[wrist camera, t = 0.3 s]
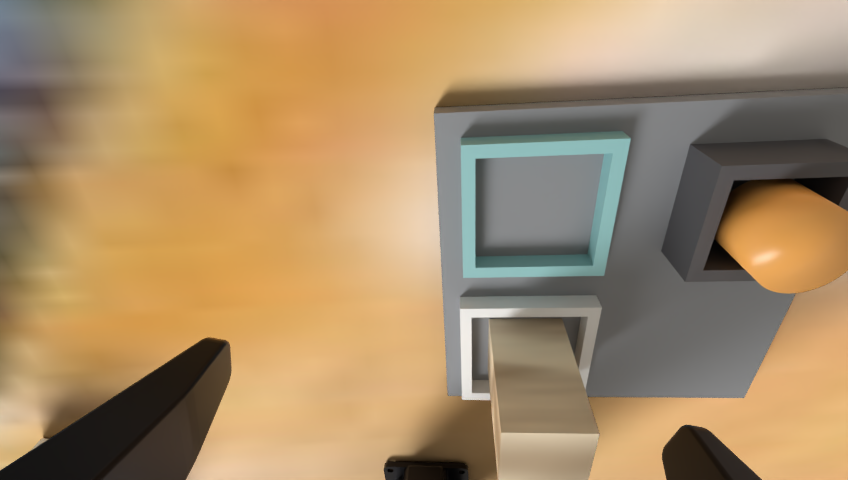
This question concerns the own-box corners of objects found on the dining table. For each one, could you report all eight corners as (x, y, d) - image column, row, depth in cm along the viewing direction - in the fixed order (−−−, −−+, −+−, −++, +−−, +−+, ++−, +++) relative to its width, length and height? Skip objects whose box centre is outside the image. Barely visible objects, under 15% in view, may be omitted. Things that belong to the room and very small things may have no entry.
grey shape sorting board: (734, 384, 27) (770, 435, 24) (447, 383, 28) (447, 431, 25) (874, 86, 17) (962, 107, 14) (434, 107, 19) (431, 131, 16)
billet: (554, 368, 25) (586, 487, 19) (487, 368, 26) (498, 485, 20) (562, 318, 23) (599, 434, 17) (488, 318, 24) (501, 432, 18)
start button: (786, 250, 19) (839, 292, 16) (700, 252, 19) (739, 294, 16) (820, 173, 17) (887, 208, 14) (725, 177, 17) (773, 211, 15)
